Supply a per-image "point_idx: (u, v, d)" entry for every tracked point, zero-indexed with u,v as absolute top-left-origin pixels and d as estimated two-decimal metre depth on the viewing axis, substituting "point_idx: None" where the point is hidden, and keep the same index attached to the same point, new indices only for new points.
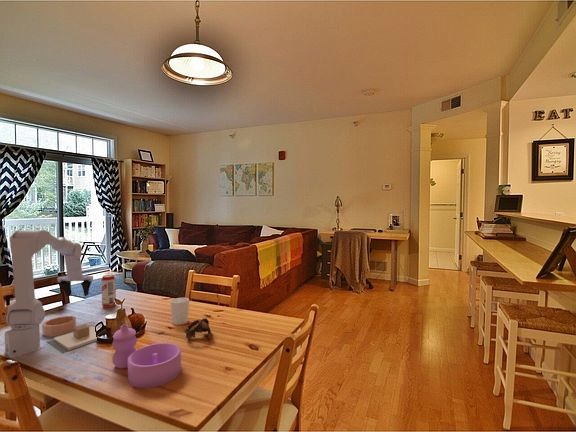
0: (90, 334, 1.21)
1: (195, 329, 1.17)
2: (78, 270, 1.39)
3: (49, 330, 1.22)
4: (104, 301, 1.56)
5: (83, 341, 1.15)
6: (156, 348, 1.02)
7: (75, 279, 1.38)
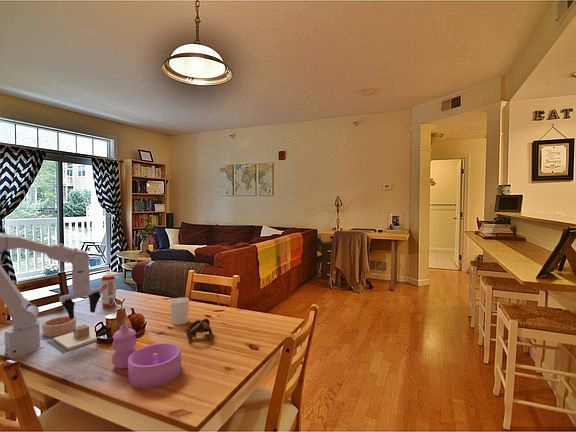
0: (90, 334, 1.21)
1: (196, 329, 1.16)
2: (72, 284, 1.18)
3: (49, 330, 1.22)
4: (104, 301, 1.56)
5: (83, 341, 1.15)
6: (156, 348, 1.02)
7: None
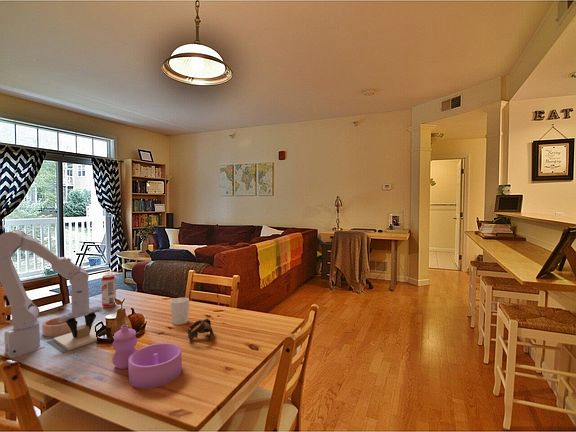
0: (90, 334, 1.21)
1: (197, 330, 1.16)
2: None
3: (49, 330, 1.22)
4: (104, 301, 1.56)
5: (83, 341, 1.15)
6: (156, 348, 1.02)
7: None
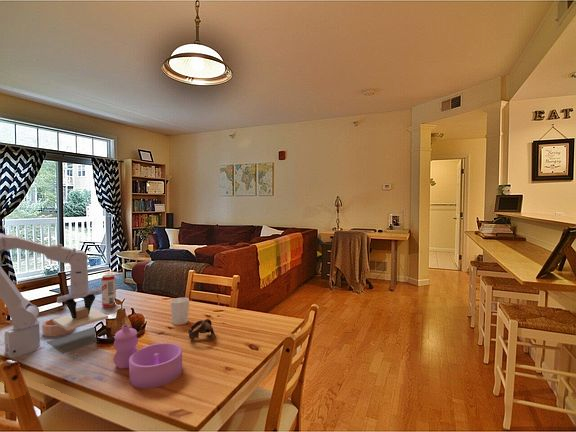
0: (89, 316, 1.21)
1: (198, 330, 1.16)
2: None
3: (49, 330, 1.22)
4: (104, 301, 1.56)
5: (82, 322, 1.15)
6: (157, 348, 1.02)
7: None
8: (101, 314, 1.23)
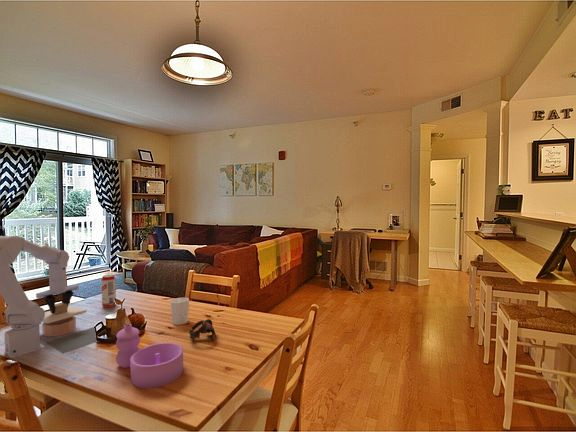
0: (68, 311, 1.29)
1: (199, 330, 1.16)
2: (49, 281, 1.25)
3: (49, 330, 1.22)
4: (104, 301, 1.56)
5: (62, 316, 1.23)
6: (159, 348, 1.02)
7: None
8: (79, 309, 1.30)
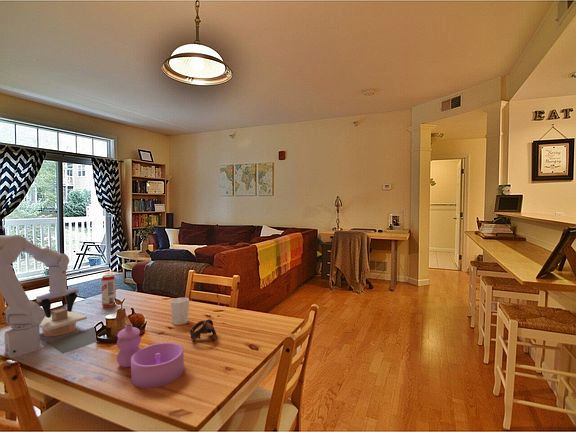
0: (68, 317, 1.29)
1: (200, 330, 1.15)
2: None
3: (49, 330, 1.22)
4: (104, 301, 1.56)
5: (62, 323, 1.23)
6: (160, 348, 1.02)
7: None
8: (80, 315, 1.31)
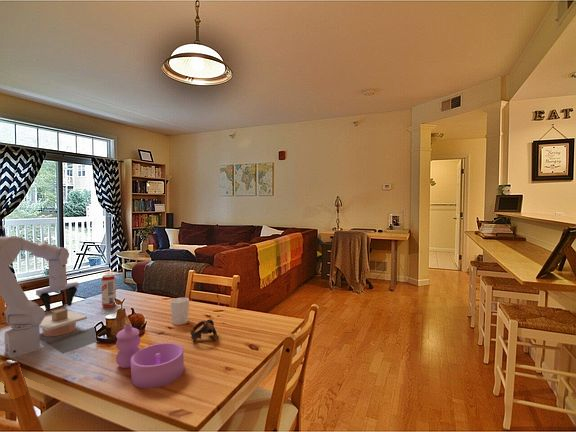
0: (68, 317, 1.29)
1: (201, 330, 1.15)
2: (49, 278, 1.25)
3: (49, 330, 1.22)
4: (104, 301, 1.56)
5: (62, 323, 1.23)
6: (159, 348, 1.02)
7: None
8: (80, 315, 1.31)
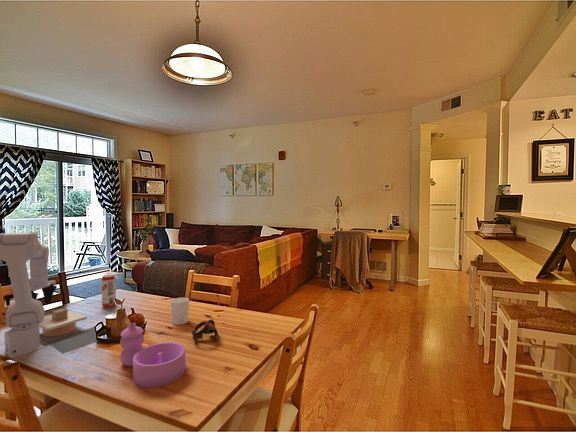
0: (68, 317, 1.29)
1: (202, 331, 1.15)
2: (30, 277, 1.25)
3: (49, 330, 1.22)
4: (104, 301, 1.56)
5: (62, 323, 1.23)
6: (162, 347, 1.03)
7: None
8: (80, 315, 1.31)
